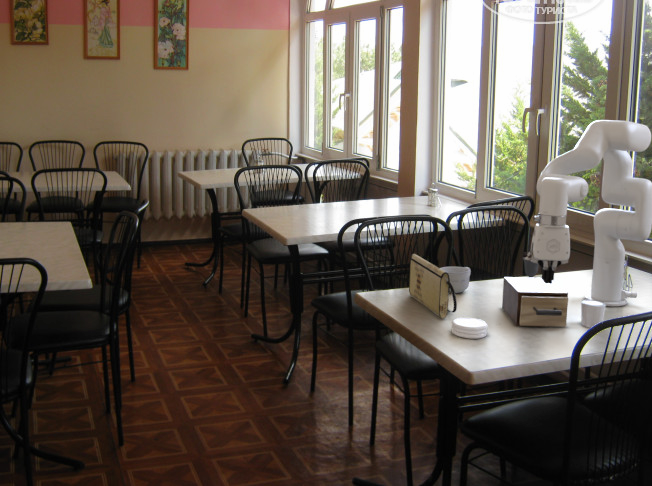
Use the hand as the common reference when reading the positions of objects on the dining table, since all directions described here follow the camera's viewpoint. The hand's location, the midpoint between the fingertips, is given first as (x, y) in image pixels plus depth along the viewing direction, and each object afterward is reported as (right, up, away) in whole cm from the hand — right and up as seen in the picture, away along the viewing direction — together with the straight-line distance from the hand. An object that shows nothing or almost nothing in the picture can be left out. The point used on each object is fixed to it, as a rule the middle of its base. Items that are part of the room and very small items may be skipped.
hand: (547, 282), depth 215 cm
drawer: (0, -12, +9) cm, 16 cm away
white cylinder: (+16, -14, +8) cm, 23 cm away
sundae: (+12, -7, +52) cm, 54 cm away
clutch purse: (-29, -11, +25) cm, 40 cm away
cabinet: (+1, -12, +15) cm, 19 cm away
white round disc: (-23, -15, -1) cm, 28 cm away
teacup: (-16, -7, +45) cm, 48 cm away
